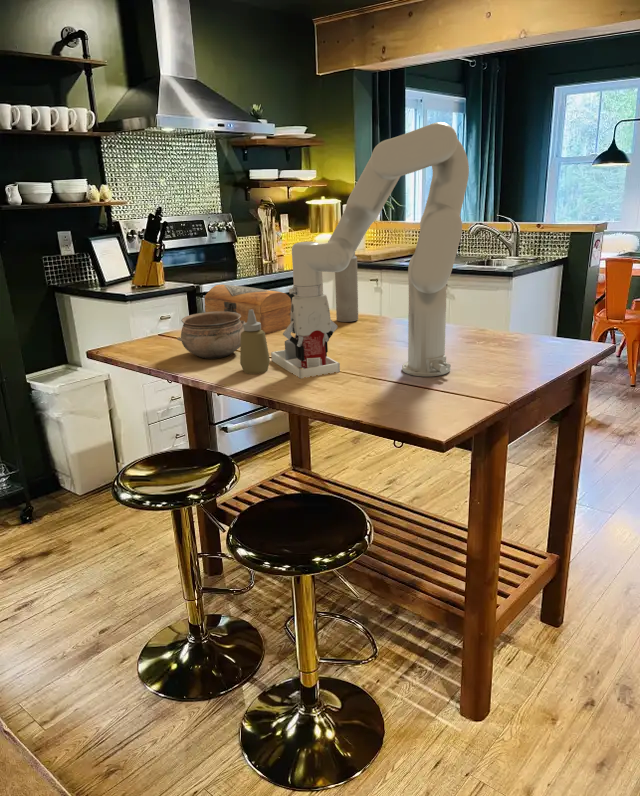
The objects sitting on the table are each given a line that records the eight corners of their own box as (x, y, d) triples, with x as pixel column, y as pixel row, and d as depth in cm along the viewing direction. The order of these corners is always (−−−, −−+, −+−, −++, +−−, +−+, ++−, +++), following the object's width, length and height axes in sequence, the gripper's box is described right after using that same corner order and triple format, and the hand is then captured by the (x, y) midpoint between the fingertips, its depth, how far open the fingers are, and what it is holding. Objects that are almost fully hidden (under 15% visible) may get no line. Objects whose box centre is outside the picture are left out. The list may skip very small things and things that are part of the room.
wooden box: (203, 326, 232) (199, 288, 227) (237, 317, 243) (234, 281, 238) (259, 337, 213) (256, 296, 208) (293, 327, 224) (291, 288, 219)
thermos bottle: (345, 315, 237) (343, 239, 227) (362, 318, 232) (361, 240, 222) (332, 320, 231) (329, 241, 221) (349, 322, 226) (346, 242, 216)
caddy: (340, 375, 170) (339, 350, 167) (300, 383, 165) (299, 357, 163) (308, 357, 187) (307, 334, 185) (271, 363, 183) (270, 340, 180)
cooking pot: (226, 343, 206) (222, 306, 202) (266, 352, 194) (263, 313, 190) (162, 362, 188) (157, 322, 184) (202, 373, 177) (197, 330, 172)
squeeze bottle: (274, 370, 176) (269, 306, 170) (266, 379, 169) (261, 313, 163) (246, 369, 178) (241, 306, 172) (237, 378, 171) (231, 313, 164)
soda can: (323, 372, 168) (321, 327, 164) (298, 372, 169) (296, 328, 165) (328, 364, 174) (326, 321, 170) (304, 364, 175) (301, 322, 171)
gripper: (283, 297, 157) (287, 366, 164) (344, 289, 164) (346, 355, 170) (272, 292, 164) (277, 359, 170) (331, 285, 171) (334, 349, 177)
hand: (312, 357), depth 170 cm, fingers closed on soda can, 6 cm apart
